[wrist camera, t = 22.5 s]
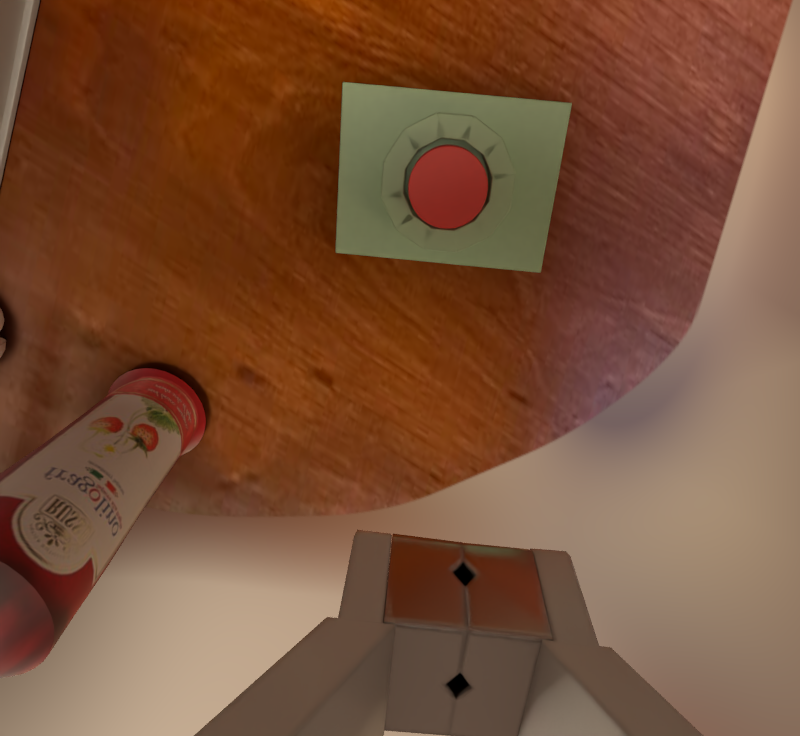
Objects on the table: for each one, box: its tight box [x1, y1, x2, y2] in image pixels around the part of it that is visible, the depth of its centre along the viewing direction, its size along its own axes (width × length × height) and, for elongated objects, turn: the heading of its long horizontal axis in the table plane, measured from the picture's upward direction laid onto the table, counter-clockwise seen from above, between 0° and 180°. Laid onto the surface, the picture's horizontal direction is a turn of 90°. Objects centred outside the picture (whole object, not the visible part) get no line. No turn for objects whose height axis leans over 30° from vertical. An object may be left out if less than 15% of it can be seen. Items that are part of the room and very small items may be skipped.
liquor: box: [0, 368, 206, 678], centre depth 28 cm, size 7×7×28 cm
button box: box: [336, 82, 572, 273], centre depth 32 cm, size 12×9×4 cm
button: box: [408, 144, 488, 229], centre depth 30 cm, size 4×4×2 cm
